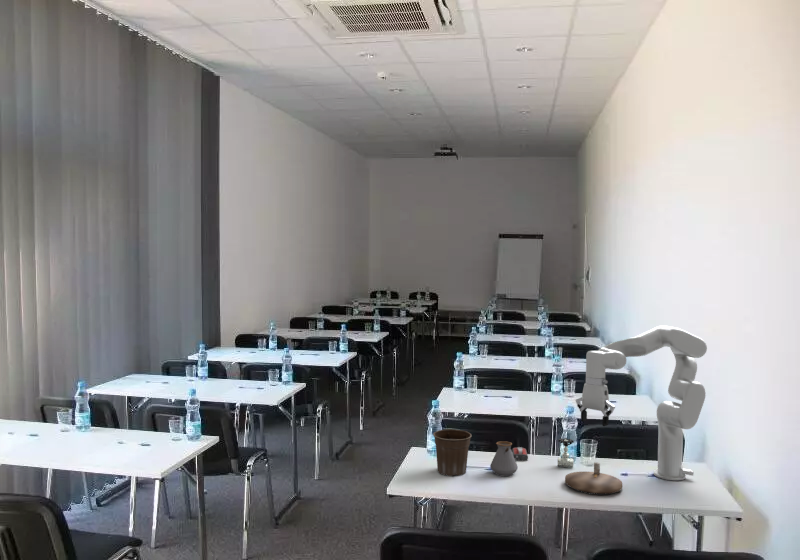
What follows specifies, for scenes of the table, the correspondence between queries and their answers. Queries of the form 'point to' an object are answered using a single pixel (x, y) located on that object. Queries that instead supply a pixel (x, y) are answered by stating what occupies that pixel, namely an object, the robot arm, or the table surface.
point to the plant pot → (452, 451)
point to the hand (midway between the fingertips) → (594, 423)
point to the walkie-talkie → (520, 453)
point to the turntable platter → (593, 481)
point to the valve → (565, 454)
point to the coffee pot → (504, 460)
